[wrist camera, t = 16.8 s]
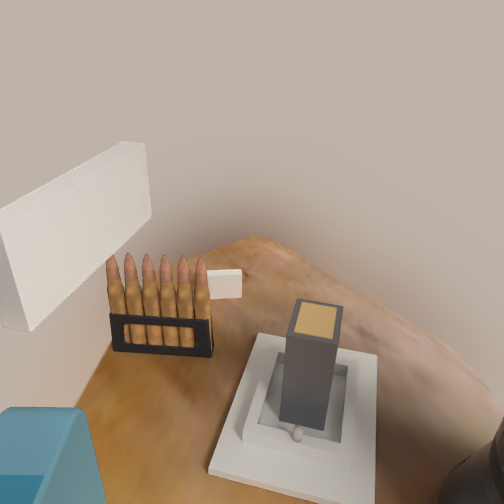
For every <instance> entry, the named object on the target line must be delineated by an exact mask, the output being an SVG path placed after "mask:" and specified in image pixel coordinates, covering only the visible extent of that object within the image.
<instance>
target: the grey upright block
mask: <svg viewBox="0 0 504 504" xmlns="http://www.w3.org/2000/svg"><path fill="white" fill-rule="evenodd" d="M342 312H343V306H338V305H333V304H327V303H321V302H315V301H309V300H304V299H298V298H297V300H296V304H295V307H294V311H293V314H292V318H291V321H290V325H289V328H288V331H287V335H286V346H285V357H284V369H283V380H282V392H281V403H280V415H279V421H282V422H286V423H290V424H295V425H301V426H303V427H308V428H312V429H316V430H320V431H324V427H325V421H326V415H327V409H328V403H329V397H330V391H331V385H332V379H333V373H334V367H335V361H336V355H337V349H338V343H339V335H340V328H341V320H342Z"/></svg>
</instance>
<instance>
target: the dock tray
mask: <svg viewBox="0 0 504 504" xmlns="http://www.w3.org/2000/svg"><path fill="white" fill-rule="evenodd" d="M285 346H286V338H285V337H280V336H274V335H269V334H264V333H258V336H257V338H256V341H255V344H254V346H253V349H252V352H251V354H250V357H249V360H248V363H247V365H246V368H245V371H244V373H243V376H242V379H241V381H240V384H239V387H238V389H237V392H236V395H235V397H234V400H233V403H232V406H231V408H230V411H229V414H228V416H227V419H226V422H225V424H224V427H223V430H222V432H221V435H220V438H219V440H218V443H217V446H216V449H215V451H214V454H213V457H212V459H211V462H210V465H209V467H208V474H209V475H213V476H217V477H221V478H225V479H228V480H232V481H236V482H240V483H243V484H247V485H251V486H255V487H258V488H262V489H266V490H270V491H273V492H277V493H281V494H285V495H288V496H292V497H296V498H300V499H303V500H307V501H311V502H315V503H318V504H375V454H376V397H377V355H373V354H368V353H363V352H358V351H352V350H347V349H342V348H338V349H337V355H336V361H335V367H334V373H333V379H332V385H331V391H330V397H329V403H328V409H327V415H326V421H325V427H324V431H320V430H316V429H312V428H308V427H303V426H301V425H295V424H290V423H286V422H282V421H279V415H280V403H281V392H282V380H283V369H284V357H285Z"/></svg>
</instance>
